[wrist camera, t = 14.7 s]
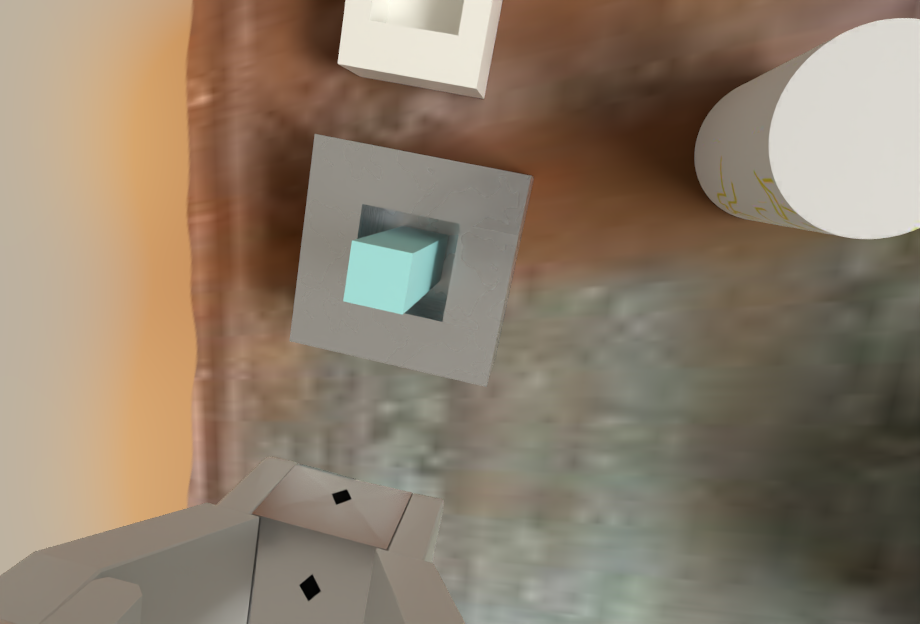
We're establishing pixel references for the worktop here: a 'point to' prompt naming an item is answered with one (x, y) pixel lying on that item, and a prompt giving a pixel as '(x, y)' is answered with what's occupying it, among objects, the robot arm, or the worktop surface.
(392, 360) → the port
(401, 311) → the plug
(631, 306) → the worktop surface
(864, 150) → the cup
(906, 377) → the worktop surface
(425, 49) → the white square-hole block
